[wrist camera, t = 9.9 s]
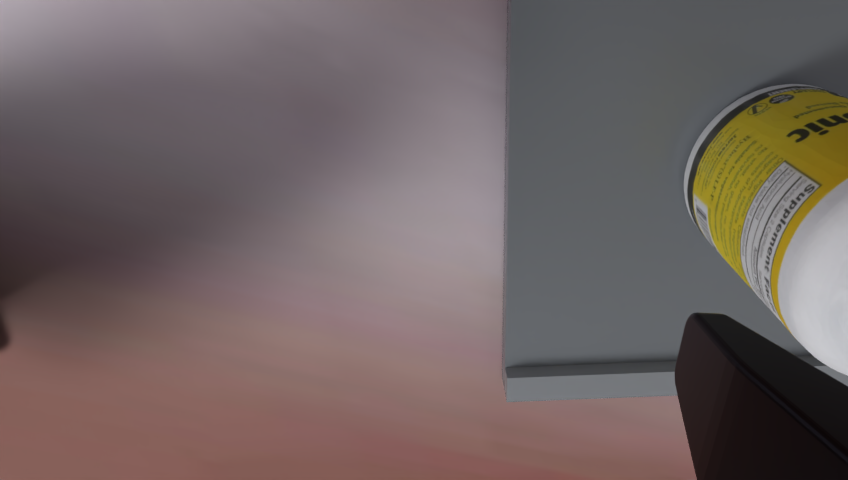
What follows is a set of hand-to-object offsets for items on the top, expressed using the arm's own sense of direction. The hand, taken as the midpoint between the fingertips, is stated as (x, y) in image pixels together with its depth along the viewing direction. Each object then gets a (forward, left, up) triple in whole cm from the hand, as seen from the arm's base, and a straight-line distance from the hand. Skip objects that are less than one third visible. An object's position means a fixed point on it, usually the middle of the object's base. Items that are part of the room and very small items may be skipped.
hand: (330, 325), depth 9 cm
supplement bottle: (+12, -3, -13) cm, 17 cm away
